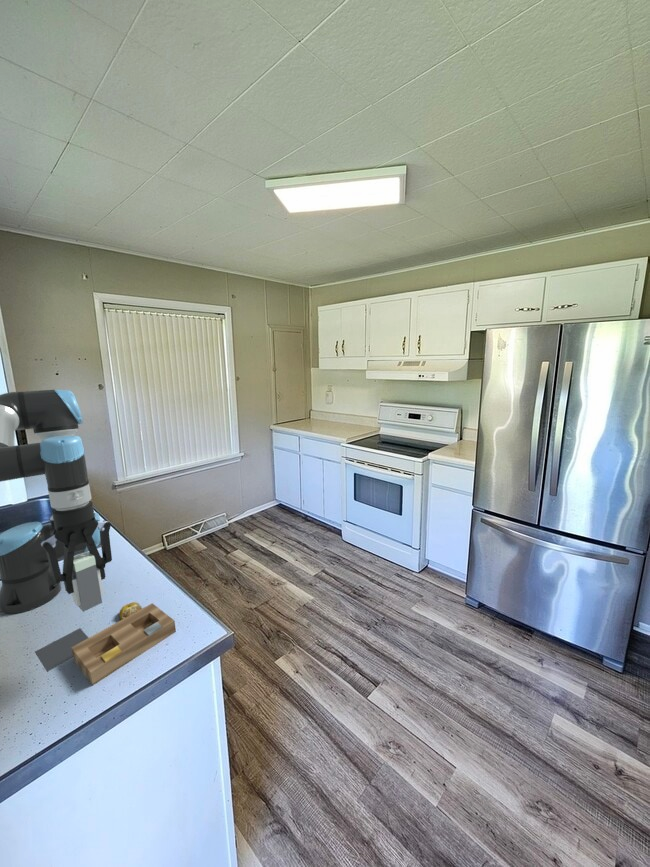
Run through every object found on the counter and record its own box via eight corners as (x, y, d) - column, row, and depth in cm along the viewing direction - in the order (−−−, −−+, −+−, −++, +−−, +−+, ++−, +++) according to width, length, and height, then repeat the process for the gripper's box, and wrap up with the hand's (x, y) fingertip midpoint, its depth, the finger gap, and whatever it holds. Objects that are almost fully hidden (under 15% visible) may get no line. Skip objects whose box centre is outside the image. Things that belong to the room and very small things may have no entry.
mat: (35, 653, 89) (34, 651, 89) (80, 629, 97) (80, 628, 97) (47, 673, 83) (47, 671, 83) (94, 646, 91) (94, 644, 91)
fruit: (123, 633, 96) (122, 621, 95) (111, 620, 101) (109, 609, 100) (154, 616, 102) (152, 605, 102) (140, 604, 107) (139, 594, 107)
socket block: (73, 661, 87) (71, 646, 86) (153, 615, 102) (152, 602, 101) (93, 687, 80) (90, 671, 79) (176, 633, 95) (174, 619, 94)
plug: (77, 605, 84) (68, 558, 81) (95, 596, 87) (88, 551, 84) (83, 611, 81) (74, 564, 79) (102, 602, 84) (94, 556, 82)
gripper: (28, 522, 70) (49, 625, 75) (119, 496, 83) (133, 585, 88) (19, 513, 75) (39, 611, 79) (107, 490, 88) (120, 575, 92)
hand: (88, 597), depth 84 cm, fingers closed on plug, 4 cm apart
